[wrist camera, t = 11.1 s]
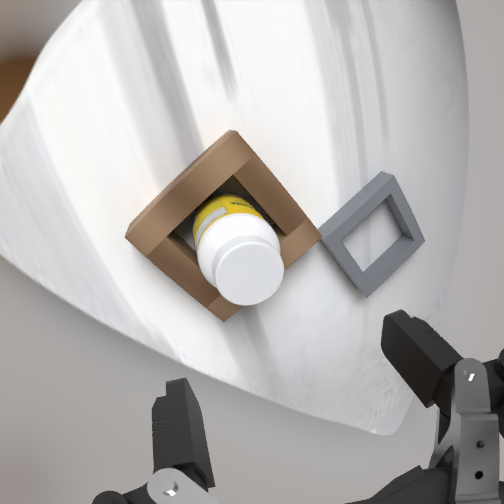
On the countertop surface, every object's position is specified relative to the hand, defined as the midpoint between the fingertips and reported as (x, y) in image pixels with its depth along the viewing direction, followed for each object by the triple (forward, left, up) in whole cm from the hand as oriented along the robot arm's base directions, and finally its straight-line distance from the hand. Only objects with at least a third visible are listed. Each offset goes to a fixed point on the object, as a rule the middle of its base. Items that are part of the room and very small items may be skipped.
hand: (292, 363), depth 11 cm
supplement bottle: (0, 0, -17) cm, 17 cm away
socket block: (0, 0, -17) cm, 17 cm away
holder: (-10, +11, -17) cm, 22 cm away
